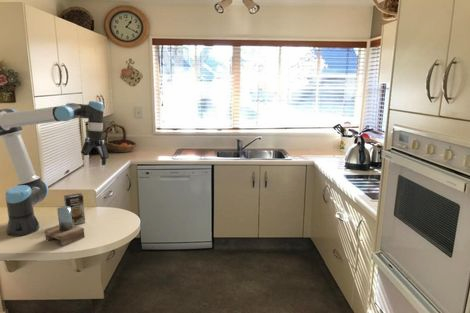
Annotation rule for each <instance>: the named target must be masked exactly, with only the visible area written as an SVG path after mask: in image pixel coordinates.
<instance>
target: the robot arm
mask: <svg viewBox="0 0 470 313" xmlns="http://www.w3.org/2000/svg"><path fill="white" fill-rule="evenodd" d="M104 112H105V108H104V103H103V102H102V101H91V100H90V101H89V102H88V104H84V103H83V104H82V103H71V102H67V103H66V104H65V105H57V106H51V107H43V108H36V109H35V108H33V109H28V110H16V109H13V108H3V109H2V108H1V109H0V138H1V139H2V140H3V141H4V144H5V147H6V149H7V152H8V155H9V157H10V160H11V163H12V165H13V167H14V168H13V169H14V170H15V173H16V175H17V178H18V181H17V183H16V184H17V185H16V186H12V187H9V189H8V188H7V190H6V192H5V202H6V203H5V204H6V208H7V216H8V221H7V226H6V234H7V235H8V234H10V235H21V236H25V235H24V234H26V235H29V233H30V234H33V233H35V232H36V231H38V230H40V222H39V221H38V219H37V217H36V216H35V211H34V206H35V205H37V204H38V203H40V202H42V201H43V200H45V198H47V196H48V194H49V186H48V184H47V183H46V182H45V181H43V180H42V179H41V177H40V176H39V175H37V174H36V172H35V168H34V166H33V163H32V160H31V158H30V155H29V153H28V150H27V148H26V145H25V144H26V143H25V142H24V139H23V136H22V134H23V133H22V132H23V131H24V130H23V128H22V127H25V126H26V127H27V126H33V125H41V124H48V123H57V122H68V121H70V120H75V119H76V120H77V119H86V120H87V121H88V122H87V129H88V131H87V137H85V138H84V143H83V145H82V148H81V151H80V153H81V154H82V156H83V168H89V167H90V152H91V151H92V149H93V148H95V149H96V150H97V152H98V155H99V156H100V159H99V172H105V171H106V164H107V163H106V162H107V159H109V158H110V156H109V153H108V149H107V145H106V140H102V138H103V134H104V131H103V129H104V128H103V127H104ZM32 232H33V233H32ZM10 235H9V236H10Z"/></svg>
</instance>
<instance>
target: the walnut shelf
mask: <svg viewBox="0 0 470 313" xmlns="http://www.w3.org/2000/svg"><path fill="white" fill-rule="evenodd" d="M72 226H73V228H72V229H71V230H68V231H60V229H59V225H57V226H55V227H51V228H48V229H45V230H44V233H45V234H44V236H45V241H47V240H48V241H47V242H49V240H50V241H52V240H54V238H55V239H57V240H59V244H60V246H61V247H65V246H68V245H70V244H72V243H75V242H77V241H79V240H82V239H84V238H85V228H84V227H81V226H78V225H72Z"/></svg>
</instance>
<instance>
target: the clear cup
mask: <svg viewBox="0 0 470 313" xmlns="http://www.w3.org/2000/svg"><path fill="white" fill-rule="evenodd" d="M56 211H57V217H58V226H59V229H60V231H68V230H71V229H72V228H73V226H72V216H71V207H70V206H65V205H64V206H59V207H58V208H57V210H56Z"/></svg>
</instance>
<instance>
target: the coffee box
mask: <svg viewBox="0 0 470 313" xmlns="http://www.w3.org/2000/svg"><path fill="white" fill-rule="evenodd" d="M63 201H64V206H70V207H71V216H72V225H75V226H77V225H80V224H86V218H85V216H86V215H85V205H84V204H85V203H84V195H83V194H82V193H81V192H79V193H72V194H67V195H65V194H64V195H63Z"/></svg>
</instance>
